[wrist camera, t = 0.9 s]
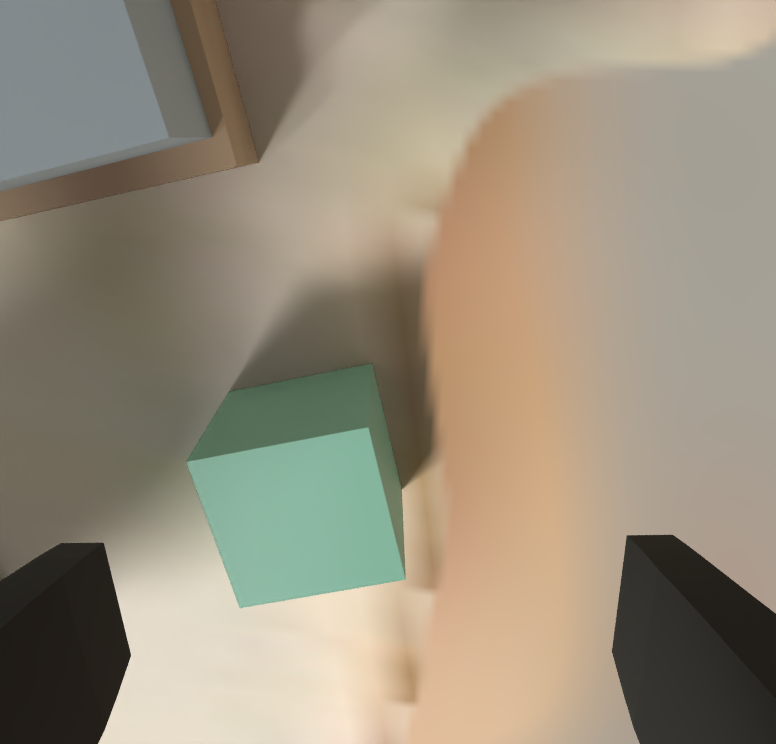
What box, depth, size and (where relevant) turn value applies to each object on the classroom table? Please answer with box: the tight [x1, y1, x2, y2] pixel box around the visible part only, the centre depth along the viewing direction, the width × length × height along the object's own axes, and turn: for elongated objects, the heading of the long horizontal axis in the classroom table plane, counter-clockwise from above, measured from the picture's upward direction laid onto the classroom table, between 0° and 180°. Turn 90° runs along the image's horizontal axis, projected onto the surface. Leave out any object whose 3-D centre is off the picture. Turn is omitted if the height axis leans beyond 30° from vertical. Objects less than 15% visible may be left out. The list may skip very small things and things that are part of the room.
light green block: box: [186, 363, 406, 608], centre depth 18 cm, size 4×4×4 cm
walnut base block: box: [0, 0, 259, 221], centre depth 15 cm, size 7×7×3 cm
